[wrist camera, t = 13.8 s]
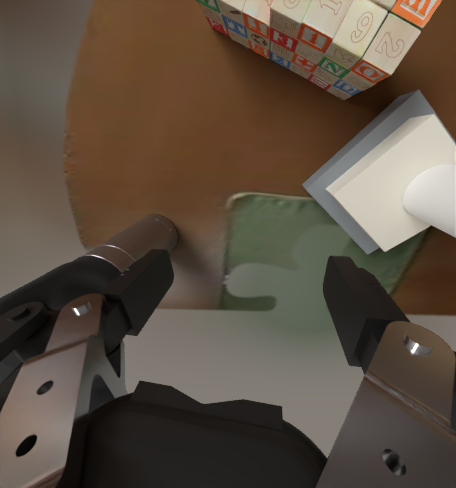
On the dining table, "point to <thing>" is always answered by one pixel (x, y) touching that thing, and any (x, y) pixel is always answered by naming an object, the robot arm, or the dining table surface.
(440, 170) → the can
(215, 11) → the stack of blocks
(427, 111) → the tower base
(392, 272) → the dining table surface
